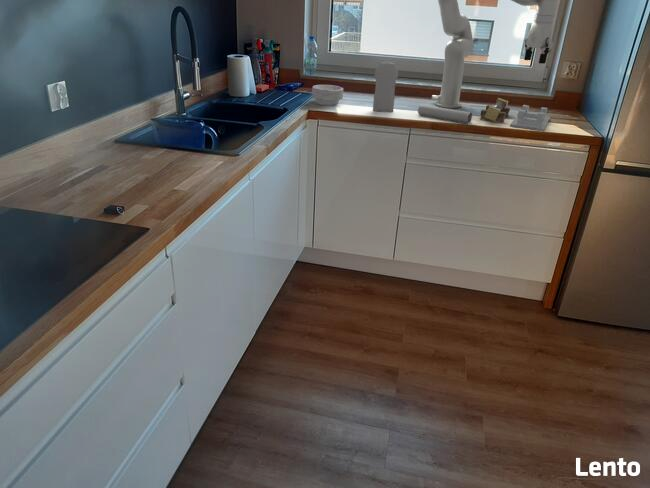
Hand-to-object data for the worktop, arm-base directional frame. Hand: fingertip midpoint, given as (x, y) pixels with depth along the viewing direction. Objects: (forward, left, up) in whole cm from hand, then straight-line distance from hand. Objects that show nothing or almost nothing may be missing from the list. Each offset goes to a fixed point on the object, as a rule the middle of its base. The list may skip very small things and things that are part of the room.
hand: (534, 61), depth 225 cm
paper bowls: (-88, -27, -25) cm, 96 cm away
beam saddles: (-11, -7, -25) cm, 29 cm away
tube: (-31, -24, -26) cm, 47 cm away
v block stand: (+5, -7, -25) cm, 26 cm away
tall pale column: (-59, -26, -25) cm, 70 cm away
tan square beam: (-12, -7, -24) cm, 27 cm away
